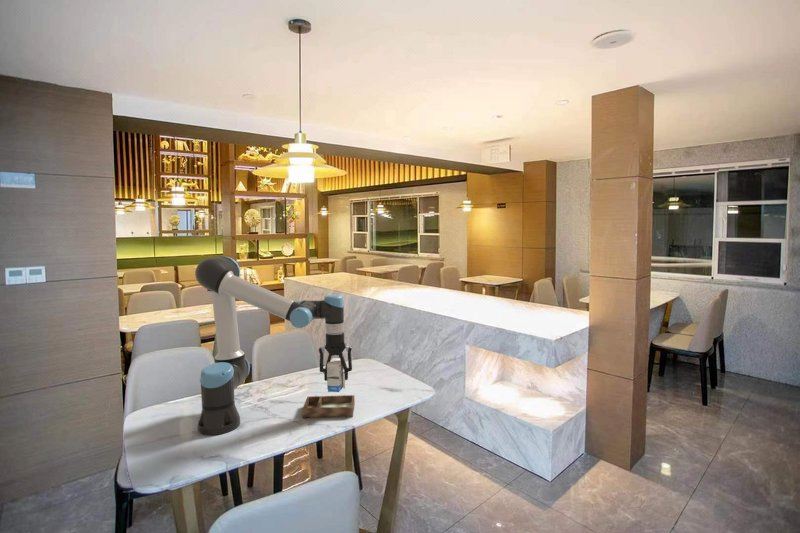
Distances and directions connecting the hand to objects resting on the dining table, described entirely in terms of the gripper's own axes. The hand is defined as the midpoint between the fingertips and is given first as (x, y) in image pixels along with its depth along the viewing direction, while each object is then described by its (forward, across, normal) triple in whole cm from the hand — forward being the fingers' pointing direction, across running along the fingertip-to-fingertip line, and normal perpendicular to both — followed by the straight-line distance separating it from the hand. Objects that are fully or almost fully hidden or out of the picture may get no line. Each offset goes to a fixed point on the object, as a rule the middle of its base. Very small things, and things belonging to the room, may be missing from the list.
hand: (336, 387), depth 181 cm
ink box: (+1, 0, 0) cm, 1 cm away
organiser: (+10, -3, 0) cm, 10 cm away
